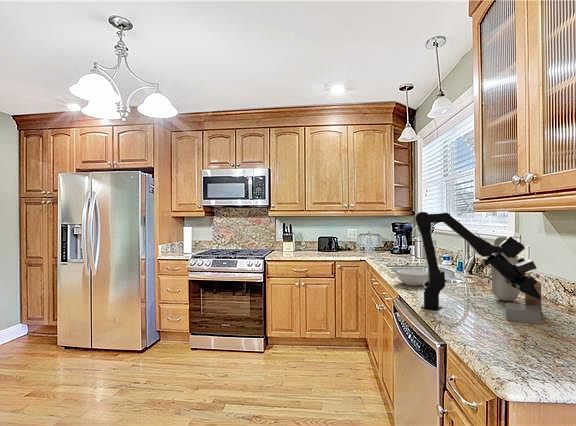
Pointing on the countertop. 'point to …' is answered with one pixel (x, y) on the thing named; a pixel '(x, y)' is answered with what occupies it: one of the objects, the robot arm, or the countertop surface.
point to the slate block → (523, 313)
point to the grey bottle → (498, 284)
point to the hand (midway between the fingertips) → (537, 296)
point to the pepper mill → (532, 300)
